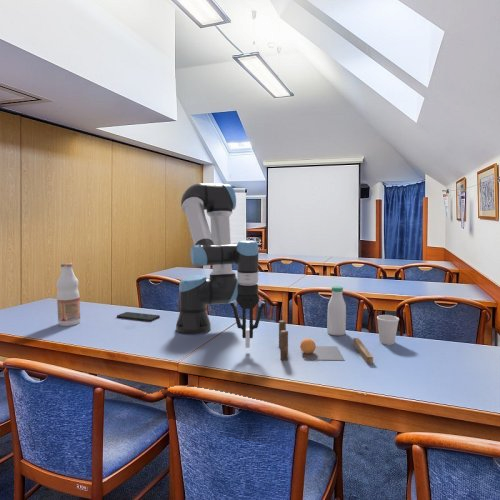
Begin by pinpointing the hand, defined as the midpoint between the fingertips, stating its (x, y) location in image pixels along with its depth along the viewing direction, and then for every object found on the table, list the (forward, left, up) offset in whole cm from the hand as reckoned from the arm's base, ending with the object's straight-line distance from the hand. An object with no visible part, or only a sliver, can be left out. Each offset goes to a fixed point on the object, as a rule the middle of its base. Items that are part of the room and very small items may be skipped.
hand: (247, 346), depth 145 cm
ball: (+22, -1, +1) cm, 22 cm away
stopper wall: (+42, 0, -2) cm, 42 cm away
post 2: (+13, -7, -2) cm, 15 cm away
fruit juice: (-84, +35, -2) cm, 91 cm away
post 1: (+13, +6, -2) cm, 15 cm away
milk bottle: (+37, +24, -2) cm, 44 cm away
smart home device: (-55, +46, -3) cm, 72 cm away
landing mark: (+27, 0, -2) cm, 27 cm away
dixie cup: (+55, +13, -2) cm, 57 cm away
